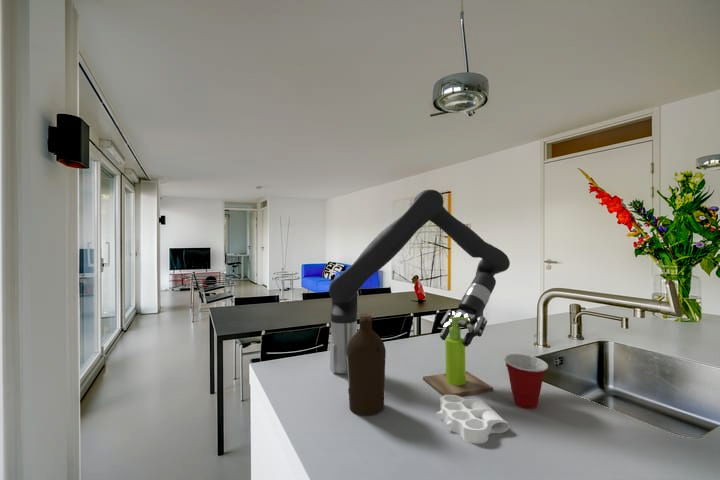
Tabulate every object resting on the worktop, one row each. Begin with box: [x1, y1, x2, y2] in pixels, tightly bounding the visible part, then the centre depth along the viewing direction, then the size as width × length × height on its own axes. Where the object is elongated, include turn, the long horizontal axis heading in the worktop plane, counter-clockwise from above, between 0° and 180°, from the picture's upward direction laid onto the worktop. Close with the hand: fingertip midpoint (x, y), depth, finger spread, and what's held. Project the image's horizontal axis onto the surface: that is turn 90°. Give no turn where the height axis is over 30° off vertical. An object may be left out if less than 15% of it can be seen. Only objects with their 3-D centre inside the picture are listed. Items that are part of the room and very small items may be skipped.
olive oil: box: [346, 313, 387, 416], centre depth 93 cm, size 11×11×25 cm
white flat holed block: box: [435, 395, 510, 444], centre depth 84 cm, size 3×18×15 cm
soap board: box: [422, 370, 494, 397], centre depth 106 cm, size 16×14×1 cm
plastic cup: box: [503, 353, 549, 410], centre depth 93 cm, size 11×11×12 cm
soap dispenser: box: [444, 317, 468, 385], centre depth 106 cm, size 6×7×20 cm
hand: (453, 341), depth 106 cm, fingers open, 8 cm apart
